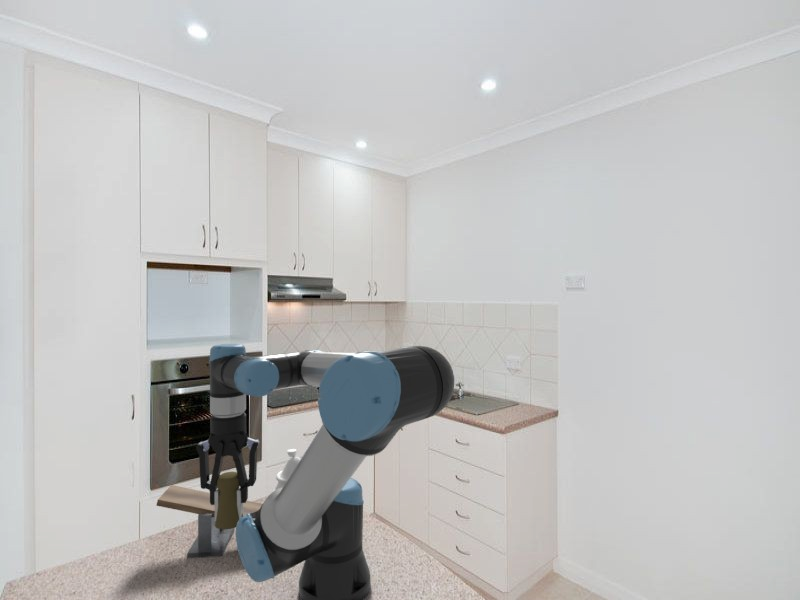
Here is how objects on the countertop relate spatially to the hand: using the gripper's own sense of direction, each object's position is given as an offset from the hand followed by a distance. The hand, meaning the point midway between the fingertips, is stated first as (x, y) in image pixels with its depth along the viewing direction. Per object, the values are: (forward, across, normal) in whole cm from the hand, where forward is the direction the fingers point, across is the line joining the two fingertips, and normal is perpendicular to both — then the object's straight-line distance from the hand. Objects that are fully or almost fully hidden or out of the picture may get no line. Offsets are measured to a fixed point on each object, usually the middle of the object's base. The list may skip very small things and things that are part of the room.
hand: (229, 517), depth 99 cm
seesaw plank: (+3, +7, -12) cm, 15 cm away
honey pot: (+13, -12, -24) cm, 30 cm away
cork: (+1, 0, 0) cm, 1 cm away
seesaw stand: (+12, +7, -12) cm, 19 cm away
